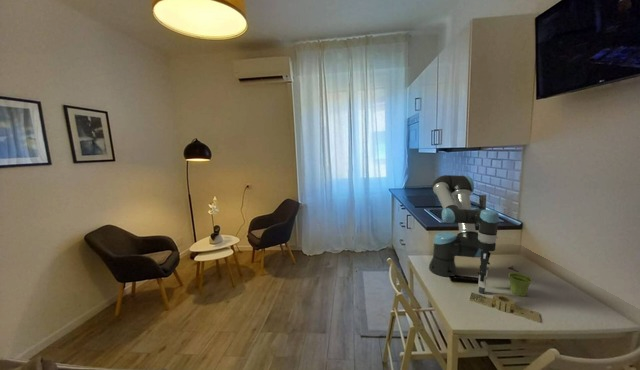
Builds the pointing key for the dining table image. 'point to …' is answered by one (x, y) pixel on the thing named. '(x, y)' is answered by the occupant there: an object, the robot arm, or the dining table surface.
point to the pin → (481, 290)
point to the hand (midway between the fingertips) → (482, 281)
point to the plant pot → (519, 283)
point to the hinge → (505, 305)
